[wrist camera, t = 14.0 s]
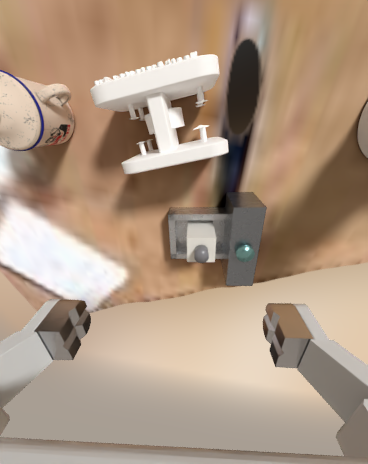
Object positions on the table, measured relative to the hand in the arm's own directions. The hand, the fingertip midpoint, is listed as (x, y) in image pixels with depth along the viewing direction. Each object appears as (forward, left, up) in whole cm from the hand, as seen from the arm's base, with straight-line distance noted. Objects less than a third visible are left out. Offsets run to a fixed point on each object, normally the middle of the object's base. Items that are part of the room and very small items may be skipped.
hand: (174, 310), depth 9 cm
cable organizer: (+3, -8, -31) cm, 33 cm away
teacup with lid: (+22, -10, -31) cm, 40 cm away
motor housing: (-4, +12, -31) cm, 34 cm away
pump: (-2, +12, -30) cm, 32 cm away
